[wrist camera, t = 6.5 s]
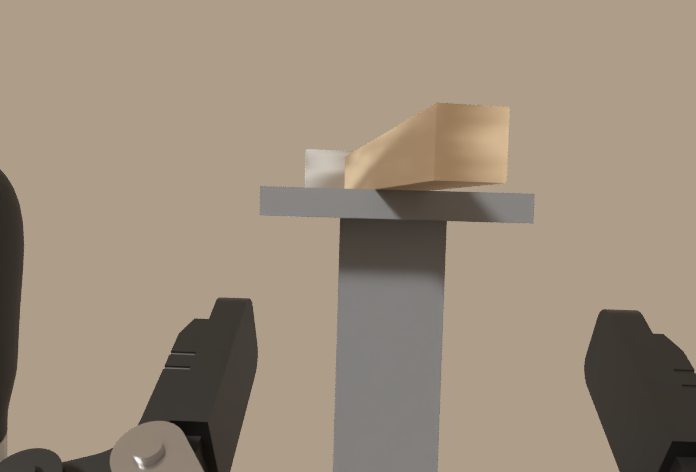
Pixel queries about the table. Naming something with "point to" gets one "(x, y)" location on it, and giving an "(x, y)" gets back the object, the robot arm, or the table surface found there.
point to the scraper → (422, 153)
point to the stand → (391, 312)
